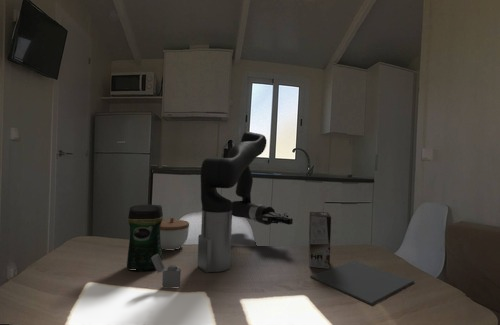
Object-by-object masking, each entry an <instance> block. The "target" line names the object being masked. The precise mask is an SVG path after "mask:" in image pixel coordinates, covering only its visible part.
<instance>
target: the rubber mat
mask: <svg viewBox="0 0 500 325" xmlns="http://www.w3.org/2000/svg"><path fill="white" fill-rule="evenodd" d="M309 277H310V278H312V279H314V280H316V281H318V282H320V283H322V284H325V285H326V286H329V287H331V288H333V289H335V290H337V291H340V292H341V293H344V294H347V295H348V296H350V297H353V298H355V299H357V300H359V301H361V302H363V303H366V304H367V305H370V306H373V305H375V304H376V303H378V302H380V301H382V300H384V299H387V297H389V296H391V295H394V294H395V293H396V292H399V291H401V290H403V289H404V288H406V287H408V286H411V285H412V284H413V283H414V282H415V280H413V279H410V278H407V277H404V276H401V275H398V274H395V273H392V272H389V271H386V270H383V269H380V268H377V267H374V266H371V265H368V264H365V263H363V262H360V261H357V260H353V261H350V262H346V263H343V264H341V265H338V266H335V267H332V268H329V269H325V270H322V271H320V272H316V273H314V274H311V275H310V276H309Z"/></svg>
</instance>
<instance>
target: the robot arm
mask: <svg viewBox="0 0 500 325" xmlns="http://www.w3.org/2000/svg"><path fill="white" fill-rule="evenodd" d="M266 147H267V138H266V136H265V135H264V134H262V133H257V132H256V133H255V132H252V131H245V132H243V135H242V137H241V140H240V142H238V143H236V144H234V145H233V146H232V147H231V148H230V149H229V150H228V153H227V157H207V158H204V159H203V161H202V164H201V168H200V202H201V233H200V234H198V236H197V237H198V240H197V242H198V243H197V267H198V266H199V267H198V268H199V269H200V270H202V271H204V272H205V273H219V272H224V271H227V270H229V269H230V268H231V260H232V257H231V256H232V232H233V231H232V228H233V225H232V224H233V217H235V218H245V219H248V220H252V221H254V222H256V223H260V224H262V225H266V226H269V225H271V224H284V225H293V224H294V223H293V218H292V217H289V214H288V213H287V212H284V213H281V212H278V211H275V209H274V208H273V207H272V206H269V205H265V204H261V203H260V204H259V203H258V204H257V203H252V200H251V199H252V198H251V197H252V196H251V192H252V188H253V182H254V181H253V180H254V179H253V174H252V170H251V169H250V165H251V164H252V163H253V161H254V160H255V159H256V158H257V157H259V156H260V155H262V154H263V153H264V151H265V149H266ZM235 185H236V187H235ZM233 187H235V195H236V196H237V197H240V198H241V200H233V201H232V200H230V199H229V198H226V197H225V196H223V195H221V194H220V193H219V192H218V190H217V189H230V188H231V189H232V188H233Z"/></svg>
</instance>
